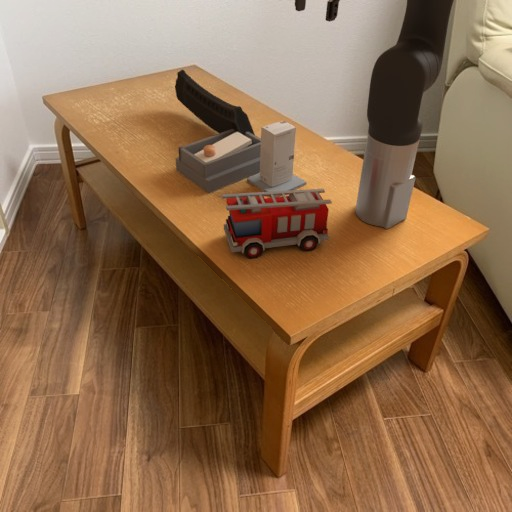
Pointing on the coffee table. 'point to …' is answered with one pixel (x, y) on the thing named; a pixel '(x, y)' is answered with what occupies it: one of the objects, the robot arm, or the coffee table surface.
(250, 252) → the toy fire truck
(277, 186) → the slate mat
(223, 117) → the magazine
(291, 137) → the skincare box
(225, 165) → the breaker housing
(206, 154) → the white block with knob
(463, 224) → the coffee table surface
